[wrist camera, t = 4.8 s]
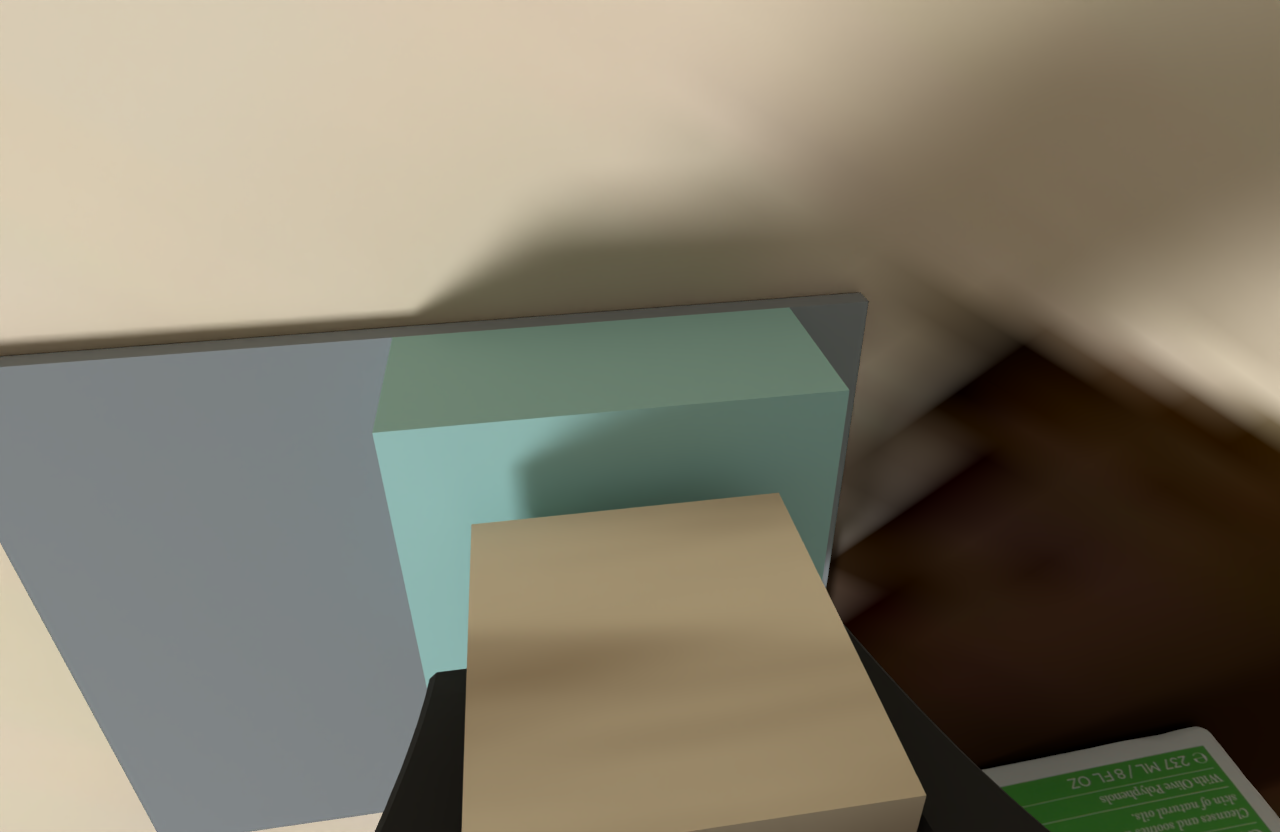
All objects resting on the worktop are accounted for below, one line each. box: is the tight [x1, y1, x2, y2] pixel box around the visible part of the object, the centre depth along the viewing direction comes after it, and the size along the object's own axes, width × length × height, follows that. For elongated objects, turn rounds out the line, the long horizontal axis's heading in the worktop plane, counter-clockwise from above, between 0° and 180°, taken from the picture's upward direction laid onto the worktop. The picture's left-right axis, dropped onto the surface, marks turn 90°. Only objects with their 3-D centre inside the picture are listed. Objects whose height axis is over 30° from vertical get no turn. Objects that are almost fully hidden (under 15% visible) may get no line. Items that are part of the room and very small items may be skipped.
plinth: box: [372, 307, 850, 687], centre depth 15 cm, size 7×7×3 cm
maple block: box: [462, 493, 926, 832], centre depth 11 cm, size 4×4×5 cm
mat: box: [0, 293, 869, 832], centre depth 18 cm, size 13×16×1 cm
